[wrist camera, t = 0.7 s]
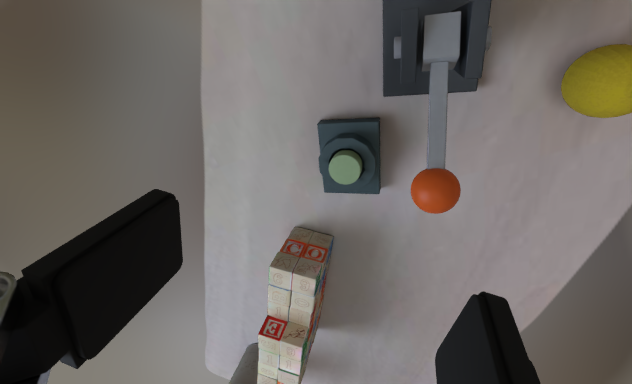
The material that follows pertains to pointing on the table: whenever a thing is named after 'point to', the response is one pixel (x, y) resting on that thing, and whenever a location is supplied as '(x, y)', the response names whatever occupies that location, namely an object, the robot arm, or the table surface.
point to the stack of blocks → (293, 306)
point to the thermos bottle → (247, 367)
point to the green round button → (345, 167)
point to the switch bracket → (406, 44)
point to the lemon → (600, 82)
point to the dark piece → (356, 138)
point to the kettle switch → (438, 112)
